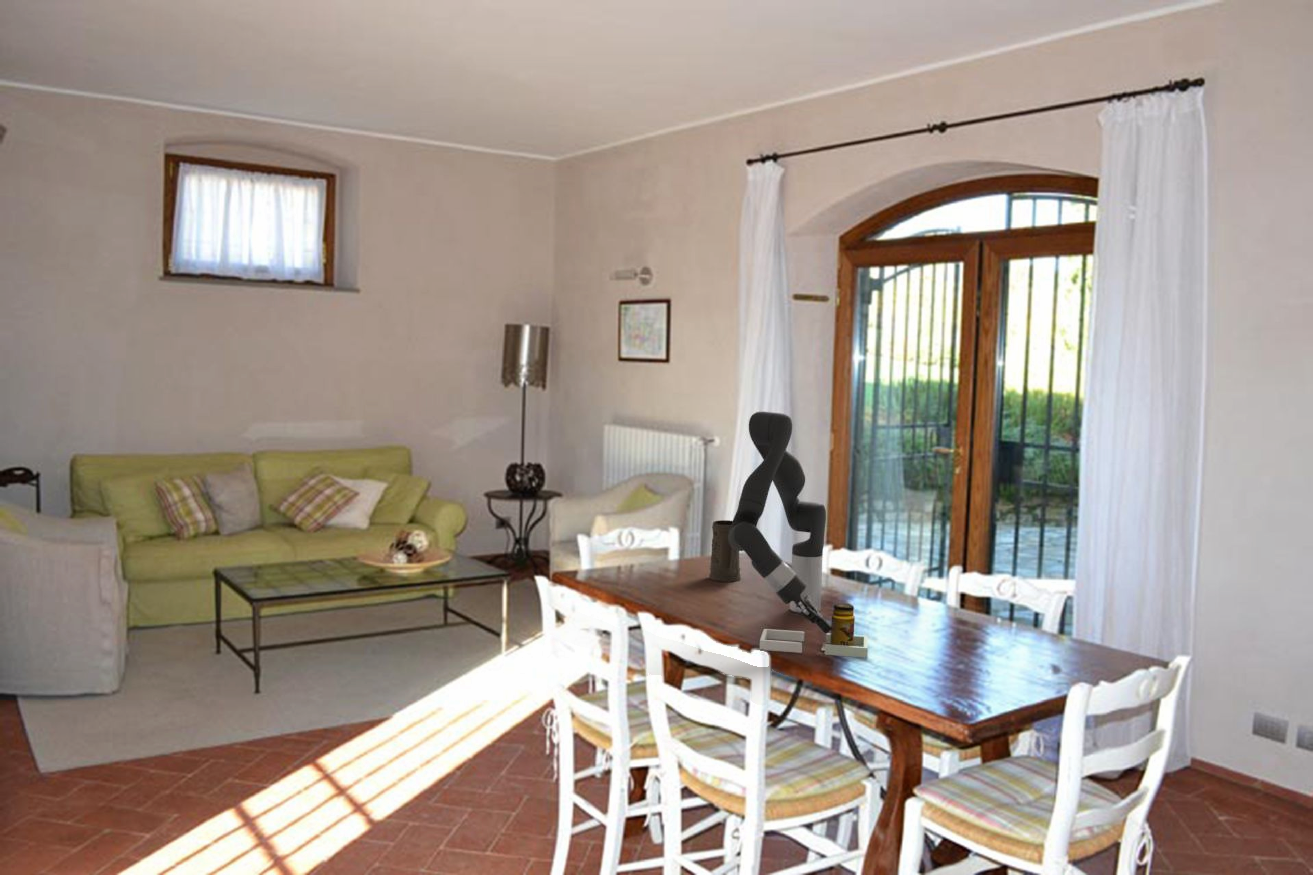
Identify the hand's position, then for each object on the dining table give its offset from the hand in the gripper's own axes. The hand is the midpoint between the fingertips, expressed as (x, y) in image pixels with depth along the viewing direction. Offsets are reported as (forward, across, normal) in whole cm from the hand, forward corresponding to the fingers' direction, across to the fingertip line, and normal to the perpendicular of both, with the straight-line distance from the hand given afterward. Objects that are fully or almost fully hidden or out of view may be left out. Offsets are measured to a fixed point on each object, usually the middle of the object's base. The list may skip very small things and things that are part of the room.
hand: (828, 630), depth 296 cm
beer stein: (-22, +79, +29) cm, 87 cm away
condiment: (+5, 0, +2) cm, 6 cm away
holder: (-4, 0, +11) cm, 12 cm away
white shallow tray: (+6, 0, +1) cm, 6 cm away
